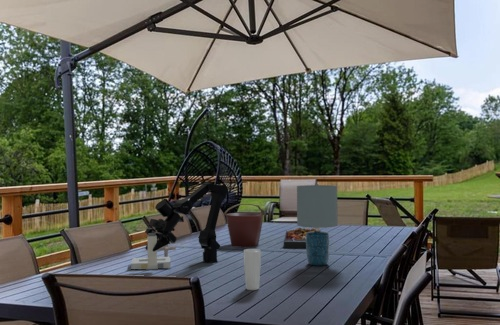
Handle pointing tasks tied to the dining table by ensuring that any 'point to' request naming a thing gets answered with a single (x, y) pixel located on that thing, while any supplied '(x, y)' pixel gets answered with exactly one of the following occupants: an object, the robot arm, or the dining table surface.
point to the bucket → (244, 227)
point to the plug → (152, 254)
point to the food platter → (296, 238)
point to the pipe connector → (167, 249)
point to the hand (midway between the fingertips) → (149, 250)
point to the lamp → (317, 219)
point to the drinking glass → (252, 268)
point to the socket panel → (143, 264)
